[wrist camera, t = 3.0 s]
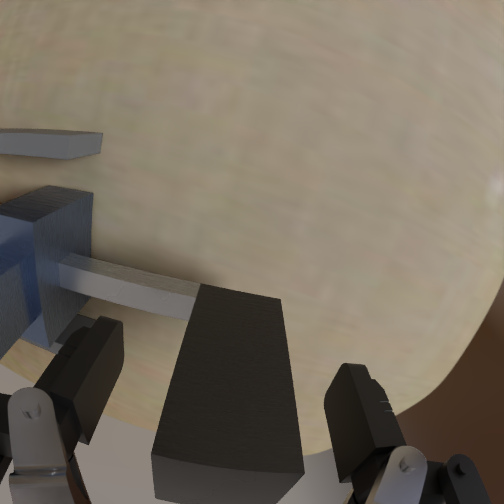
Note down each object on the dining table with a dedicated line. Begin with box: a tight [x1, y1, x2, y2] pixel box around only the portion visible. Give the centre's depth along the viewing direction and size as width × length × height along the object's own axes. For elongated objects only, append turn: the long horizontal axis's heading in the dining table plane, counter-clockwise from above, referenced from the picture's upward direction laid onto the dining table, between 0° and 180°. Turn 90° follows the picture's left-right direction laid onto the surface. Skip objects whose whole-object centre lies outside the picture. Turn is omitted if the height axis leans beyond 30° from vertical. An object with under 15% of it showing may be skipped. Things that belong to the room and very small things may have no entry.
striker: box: [0, 186, 305, 504], centre depth 10 cm, size 6×12×11 cm, turn 77°
